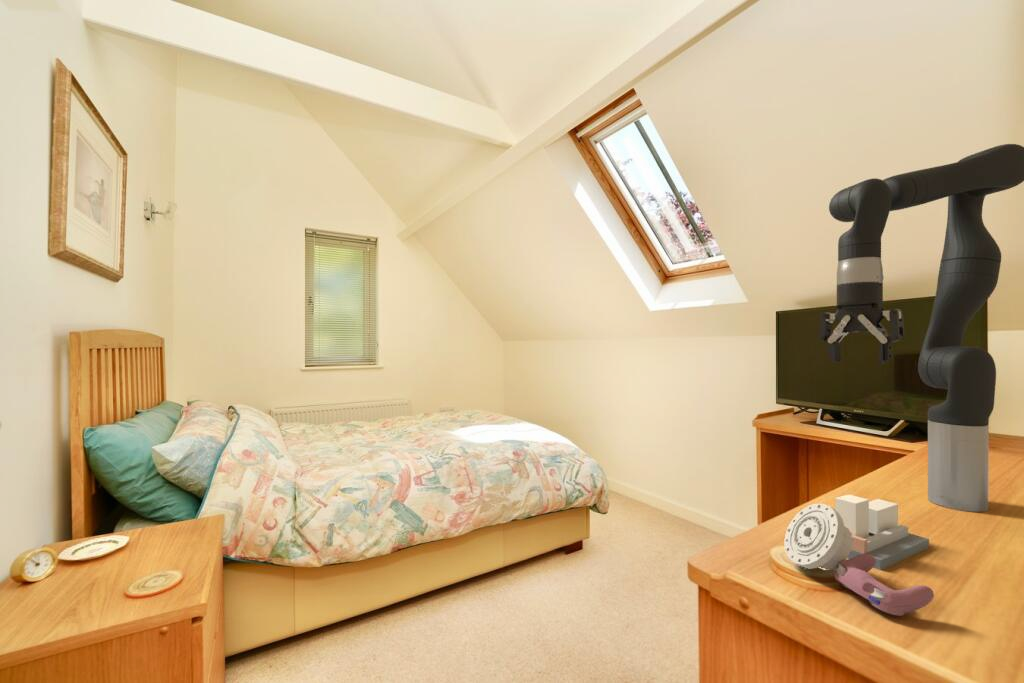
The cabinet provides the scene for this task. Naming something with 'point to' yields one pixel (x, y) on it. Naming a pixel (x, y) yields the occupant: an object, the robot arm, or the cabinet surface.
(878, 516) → the cream block
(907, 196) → the robot arm
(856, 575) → the pink curved lobed piece
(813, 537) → the mechanical component
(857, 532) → the rail mount
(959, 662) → the cabinet surface
